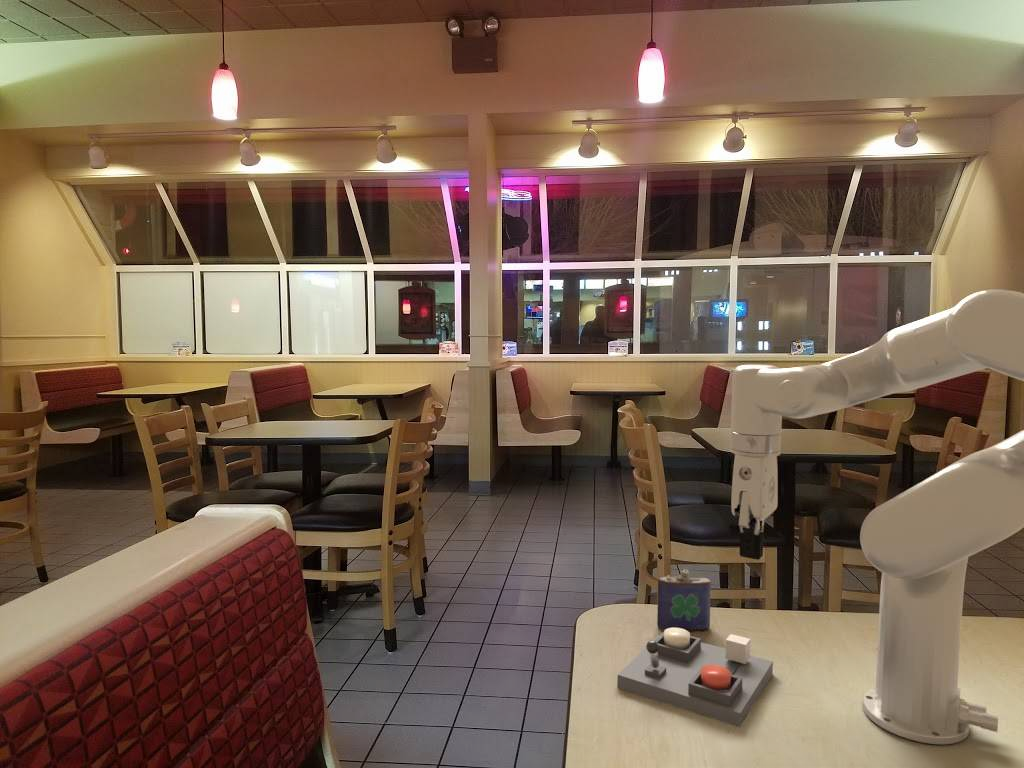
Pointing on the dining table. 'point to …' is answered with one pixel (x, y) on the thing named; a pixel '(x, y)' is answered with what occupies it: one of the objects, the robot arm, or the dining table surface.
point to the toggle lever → (653, 653)
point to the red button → (715, 677)
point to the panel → (697, 680)
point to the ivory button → (677, 638)
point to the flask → (684, 603)
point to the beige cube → (737, 648)
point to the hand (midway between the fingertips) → (750, 556)
